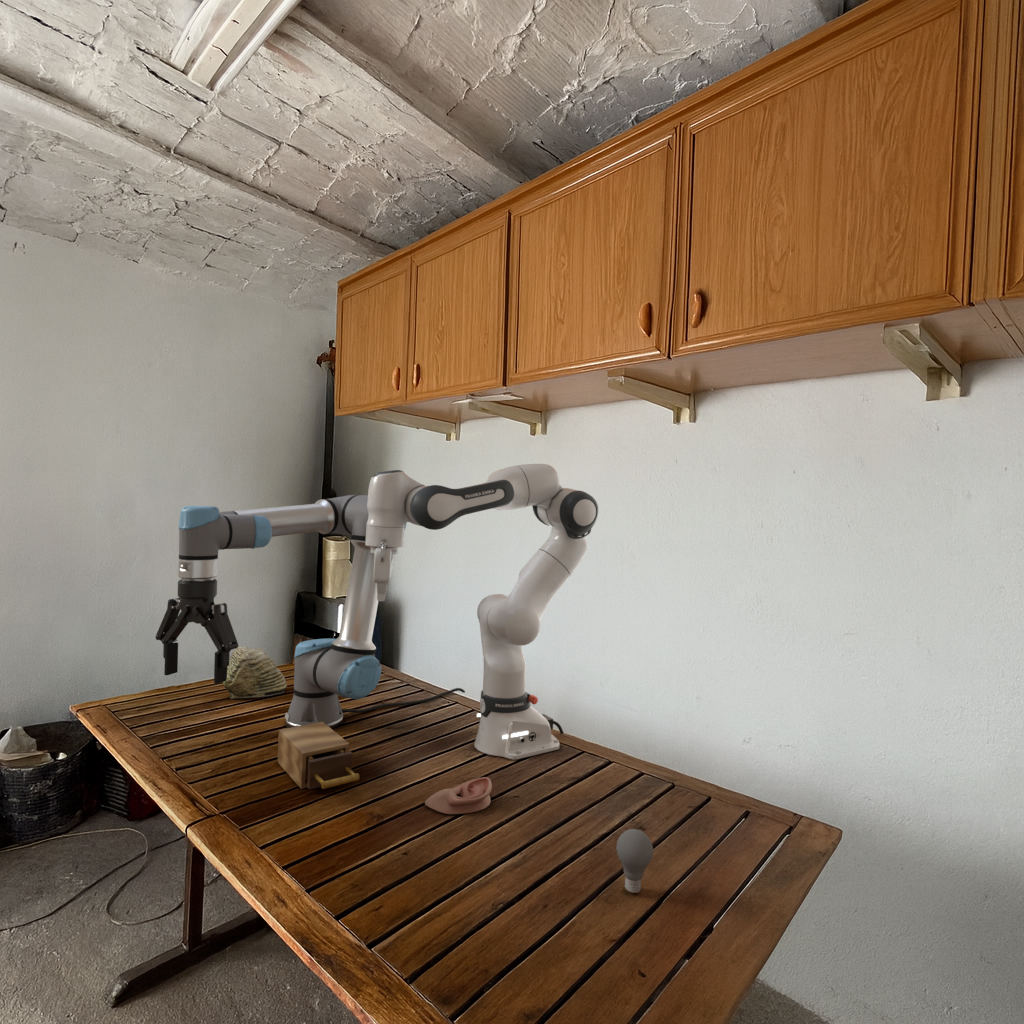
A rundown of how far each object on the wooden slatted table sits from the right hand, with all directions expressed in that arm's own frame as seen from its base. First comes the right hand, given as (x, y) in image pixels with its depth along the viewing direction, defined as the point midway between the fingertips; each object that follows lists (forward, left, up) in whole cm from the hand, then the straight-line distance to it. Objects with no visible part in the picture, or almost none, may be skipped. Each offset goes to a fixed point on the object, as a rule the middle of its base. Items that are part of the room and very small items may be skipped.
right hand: (382, 597), depth 149 cm
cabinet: (+14, -3, -40) cm, 43 cm away
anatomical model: (-13, +23, -40) cm, 48 cm away
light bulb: (-31, +61, -40) cm, 79 cm away
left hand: (+39, -2, -17) cm, 42 cm away
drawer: (+12, +3, -39) cm, 41 cm away
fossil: (+25, -64, -40) cm, 80 cm away
